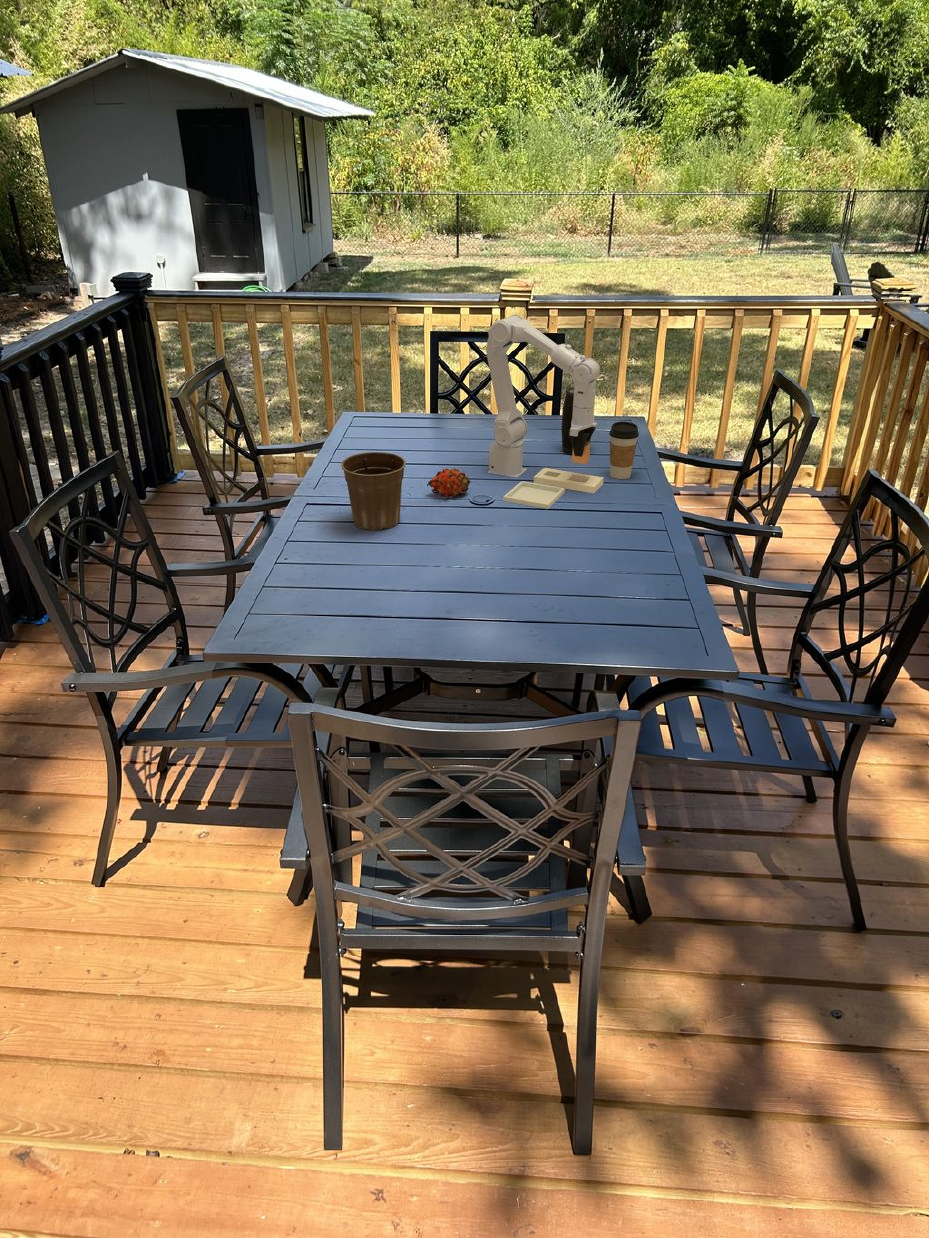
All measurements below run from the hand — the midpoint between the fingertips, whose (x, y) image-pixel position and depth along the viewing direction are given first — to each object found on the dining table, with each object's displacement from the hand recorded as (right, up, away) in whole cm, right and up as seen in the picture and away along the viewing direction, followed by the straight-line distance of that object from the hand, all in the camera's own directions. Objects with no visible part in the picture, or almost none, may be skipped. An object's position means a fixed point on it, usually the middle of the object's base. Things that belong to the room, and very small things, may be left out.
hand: (580, 453), depth 251 cm
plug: (0, -2, +1) cm, 2 cm away
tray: (-13, -13, -3) cm, 19 cm away
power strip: (-3, -8, +6) cm, 10 cm away
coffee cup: (+13, -4, +13) cm, 19 cm away
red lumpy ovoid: (-37, -12, -1) cm, 39 cm away
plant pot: (-55, -21, -16) cm, 61 cm away
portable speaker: (+2, +6, +31) cm, 32 cm away
